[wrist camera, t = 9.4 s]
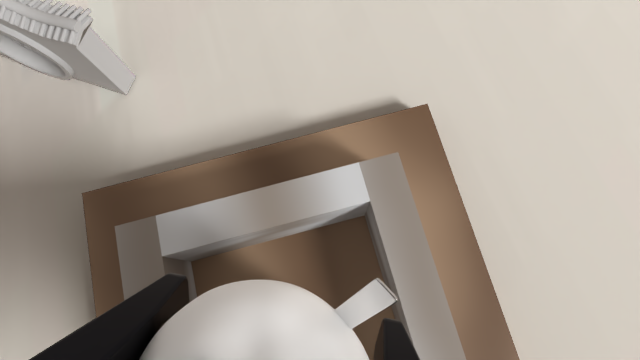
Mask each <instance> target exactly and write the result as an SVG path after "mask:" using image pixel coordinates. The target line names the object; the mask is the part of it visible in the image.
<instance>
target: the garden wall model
mask: <svg viewBox="0 0 640 360" xmlns="http://www.w3.org/2000/svg"><path fill="white" fill-rule="evenodd" d="M52 1H53V0H45V1H44V2H42V1H40V0H0V54H1V55H4V56H7V57H9V58H11V59H13V60H15V61H17V62H19V63H21V64H23V65H25V66H27V67H29V68H32V69H34V70H36V71H38V72H41V73H43V74H46V75H49V76H52V77H55V78H59V79H62V80H70V79H71V78H75V79H78V80H82V81H85V82H88V83H91V84H94V85H97V86H100V87H103V88H106V89H109V90H112V91H116V92H119V93H122V94H125V95H127V93H128V91H129V89H130V87H131V85H132V83H133V81H134V79H135V77H136V75H135V74H134V73H133V72H132V71H131V70H130V69H129V68H128V67H127V66H126V65H125V63H124V62H123V61H122V60H121V59H120V58H119V57H118V56H117V55H116V54H115V53H114V52H113V50H112V49H111V48H110V47H109V46H108V45H107V44H106V43H105V42H104V41H103V40H102V39H101V38H100V36H99V35H98V34H97V33H96V32H95V31H94V30H93V29H92V28H91V27H90V25H91V23H92V21H93V19H92V17H91V16H88V14H90V13H91V10H90V9H89V8H87V9H86V10H85V11H84V12H83V13H82V14H80V13H81V12H82V11H83V10H84V9H83V8H82V7H79V8H78V9H77V8H76V6H74V5H72V6H71V7H70V6H69V5H68V4H65V5H64V6H63V7H62V8H60V7H61V6H62V3H61V2H58V3H56V4H55V5H54V6H52V5H50V3H51V2H52ZM69 7H70V8H69ZM68 8H69V9H68ZM67 9H68V10H67ZM73 11H74V12H73Z"/></svg>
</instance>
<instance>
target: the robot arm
mask: <svg viewBox="0 0 640 360" xmlns="http://www.w3.org/2000/svg"><path fill="white" fill-rule="evenodd" d="M188 303H189V285H188V278H187V277H186V276H185V275H181V274H176V273H168V274H166V275H164V276H163V277H161V278H160V279H158V280H156V281H155V282H153V283H152V284H150V285H148V286H147V287H145V288H143V289H142V290H140V291H139V292H137V293H135V294H134V295H132V296H131V297H129V298H127V299H126V300H124V301H123V302H121V303H119V304H118V305H116V306H115V307H113V308H111V309H110V310H108V311H106V312H105V313H103V314H102V315H100V316H98V317H97V318H95V319H94V320H92V321H90V322H89V323H87V324H86V325H84V326H82V327H81V328H79V329H78V330H76V331H74V332H73V333H71V334H69V335H68V336H66V337H65V338H63V339H61V340H60V341H58V342H57V343H55V344H53V345H52V346H50V347H49V348H47V349H45V350H44V351H42V352H41V353H39V354H37V355H36V356H34V357H32V358H31V359H29V360H139V359H140V357H141V356H142V354H143V352H144V350H145V349H146V347H147V345H148V344H149V342H150V341H151V339H152V338H153V337H154V335H155V334H156V333H157V332H158V331H159V329H160V328H161V327H162V326H163V325H164V324H165V323H166V322H167V321H168V320H169V319H170V318H171V317H172V316H173V315H175V314H176V313H177V312H178V311H179V310H181V309H182V308H183V307H184V306H186V305H187V304H188ZM373 360H420V358H419V356H418V354H417V352H416V350H415V348H414V346H413V343H412V341H411V339H410V337H409V335H408V333H407V331H406V329H405V327H404V325H403V323H402V322H401V321H399V320H394V319H390V318H384V319H383V320H382V322H381V326H380V329H379V333H378V336H377V340H376V344H375V350H374V359H373Z"/></svg>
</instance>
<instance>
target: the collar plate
mask: <svg viewBox="0 0 640 360" xmlns="http://www.w3.org/2000/svg"><path fill="white" fill-rule="evenodd" d="M82 196H83V205H84V214H85V223H86V232H87V240H88V249H89V258H90V267H91V276H92V284H93V293H94V302H95V311H96V318H97V317H98V316H100V315H102V314H103V313H105V312H106V311H108V310H110V309H111V308H113V307H115V306H116V305H118V304H119V303H121V302H123V301H124V300H126V299H127V298H129V297H131V296H132V295H134V294H135V293H137V292H139V291H140V290H142V289H143V288H145V287H147V286H148V285H150V284H152V283H153V282H155V281H156V280H158V279H160V278H161V277H163V276H164V275H166V274H168V273H176V274H181V275H185V276H186V277H187V278H188V285H189V303H190V302H191V301H192V300H194V299H195V298H197V297H199V296H200V295H202V294H203V293H205V292H207V291H209V290H211V289H214V288H216V287H219V286H222V285H225V284H229V283H233V282H238V281H245V280H275V281H281V282H286V283H290V284H293V285H296V286H299V287H301V288H303V289H305V290H308V291H309V292H311V293H313V294H315V295H316V296H318V297H319V298H321V299H322V300H324V301H325V302H326V303H328V304H329V305H330V306H331V307H332V308H334V309H336V308H337V307H339V306H340V305H341V304H342V303H344V302H345V301H346V300H348V299H349V298H350V297H351V296H353V295H354V294H355V293H357V292H358V291H359V290H360V289H362V288H363V287H364V286H366V285H367V284H368V283H369V282H371V281H372V280H374V279H376V278H379V279H380V280H382V281H383V282H384V284H385V285H386V286H387V287H388V288H389V289H390V290H391V291H392V292H393V293H394V294H395V295H396V296H397V298H398V301H397V302H396V303H395V304H393V305H391V306H390V307H388V308H386V309H385V310H383V311H381V312H380V313H378V314H376V315H375V316H373V317H371V318H370V319H368V320H366V321H364V322H363V323H361V324H359V325H358V326H356V327H354V328H353V329H352V330H353V331H354V332H355V334H356V335H357V337H358V338H359V340H360V342H361V343H362V345H363V347H364V349H365V351H366V353H367V355H368V358H369V360H373V359H374V350H375V344H376V340H377V336H378V333H379V329H380V326H381V322H382V320H383V319H384V318H390V319H394V320H399V321H401V322H402V323H403V325H404V327H405V329H406V331H407V333H408V335H409V337H410V339H411V341H412V343H413V346H414V348H415V350H416V352H417V354H418V356H419V358H420V360H519V357H518V354H517V351H516V348H515V346H514V343H513V340H512V337H511V335H510V332H509V329H508V326H507V323H506V321H505V318H504V315H503V312H502V310H501V307H500V304H499V301H498V299H497V296H496V293H495V290H494V287H493V285H492V282H491V279H490V276H489V274H488V271H487V268H486V265H485V262H484V260H483V257H482V254H481V251H480V249H479V246H478V243H477V240H476V237H475V235H474V232H473V229H472V226H471V224H470V221H469V218H468V215H467V212H466V210H465V207H464V204H463V201H462V199H461V196H460V193H459V190H458V187H457V185H456V182H455V179H454V176H453V174H452V171H451V168H450V165H449V162H448V160H447V157H446V154H445V151H444V149H443V146H442V143H441V140H440V137H439V135H438V132H437V129H436V126H435V124H434V121H433V118H432V115H431V112H430V110H429V107H428V104H425V105H421V106H417V107H413V108H409V109H405V110H401V111H398V112H394V113H390V114H386V115H382V116H378V117H374V118H371V119H367V120H363V121H359V122H355V123H351V124H347V125H344V126H340V127H336V128H332V129H328V130H324V131H320V132H316V133H313V134H309V135H305V136H301V137H297V138H293V139H289V140H286V141H282V142H278V143H274V144H270V145H266V146H262V147H259V148H255V149H251V150H247V151H243V152H239V153H235V154H232V155H228V156H224V157H220V158H216V159H212V160H208V161H204V162H201V163H197V164H193V165H189V166H185V167H181V168H177V169H174V170H170V171H166V172H162V173H158V174H154V175H150V176H147V177H143V178H139V179H135V180H131V181H127V182H123V183H120V184H116V185H112V186H108V187H104V188H100V189H96V190H92V191H89V192H85V193H82Z"/></svg>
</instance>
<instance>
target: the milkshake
mask: <svg viewBox="0 0 640 360" xmlns="http://www.w3.org/2000/svg"><path fill="white" fill-rule="evenodd" d="M397 301H398V298H397V296H396V295H395V294H394V293H393V292H392V291H391V290H390V289H389V288H388V287H387V286H386V285H385V284H384V282H383V281H382V280H380V279H379V278H376V279H374V280H372V281H371V282H369V283H368V284H367V285H366V286H364V287H363V288H362V289H360V290H359V291H358V292H357V293H355V294H354V295H353V296H351V297H350V298H349V299H348V300H346V301H345V302H344V303H342V304H341V305H340V306H339V307H337V308H336V309H334V308H332V307H331V306H330V305H329V304H328V303H326V302H325V301H324V300H322V299H321V298H319V297H318V296H316V295H315V294H313V293H311V292H309V291H308V290H305V289H303V288H301V287H299V286H296V285H293V284H290V283H286V282H281V281H275V280H245V281H238V282H233V283H229V284H225V285H222V286H219V287H216V288H214V289H211V290H209V291H207V292H205V293H203V294H202V295H200V296H199V297H197V298H195V299H194V300H192V301H191V302H190V303H188V304H187V305H186V306H184V307H183V308H182V309H181V310H179V311H178V312H177V313H176V314H175V315H173V316H172V317H171V318H170V319H169V320H168V321H167V322H166V323H165V324H164V325H163V326H162V327H161V328H160V329H159V331H158V332H157V333H156V334H155V335H154V337H153V338H152V339H151V341H150V342H149V344H148V345H147V347H146V349H145V350H144V352H143V354H142V356H141V357H140V359H139V360H369V358H368V355H367V353H366V351H365V349H364V347H363V345H362V343H361V342H360V340H359V338H358V337H357V335H356V334H355V332H354V331H353V330H352V329H353V328H354V327H356V326H358V325H359V324H361V323H363V322H364V321H366V320H368V319H370V318H371V317H373V316H375V315H376V314H378V313H380V312H381V311H383V310H385V309H386V308H388V307H390V306H391V305H393V304H395V303H396V302H397Z"/></svg>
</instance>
